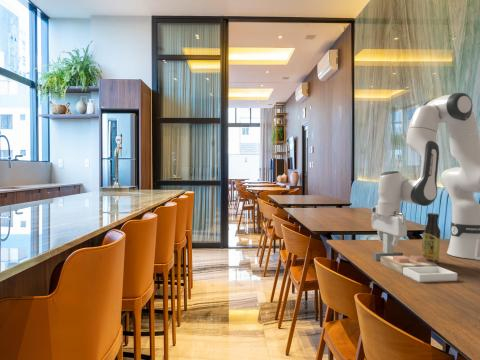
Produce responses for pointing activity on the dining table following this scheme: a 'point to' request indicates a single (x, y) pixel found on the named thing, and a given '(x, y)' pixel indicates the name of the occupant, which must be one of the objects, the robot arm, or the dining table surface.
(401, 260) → the tile
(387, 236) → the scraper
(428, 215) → the sauce bottle
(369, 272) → the dining table surface
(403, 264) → the birch board
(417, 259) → the tile
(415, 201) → the robot arm
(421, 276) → the tray
